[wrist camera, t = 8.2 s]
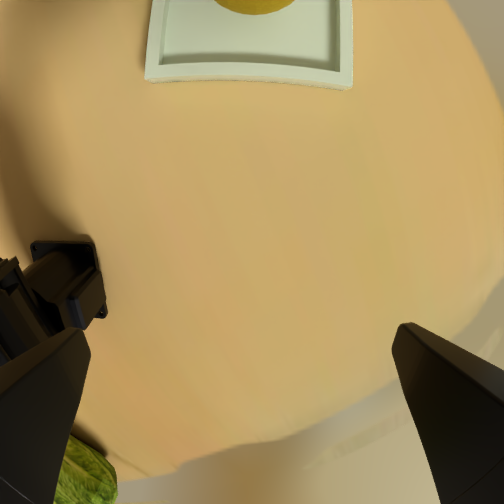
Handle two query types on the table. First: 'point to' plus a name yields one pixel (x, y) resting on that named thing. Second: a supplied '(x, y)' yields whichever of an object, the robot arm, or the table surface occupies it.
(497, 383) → the robot arm
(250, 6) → the lemon
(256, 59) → the dish
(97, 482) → the lettuce
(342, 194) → the table surface
